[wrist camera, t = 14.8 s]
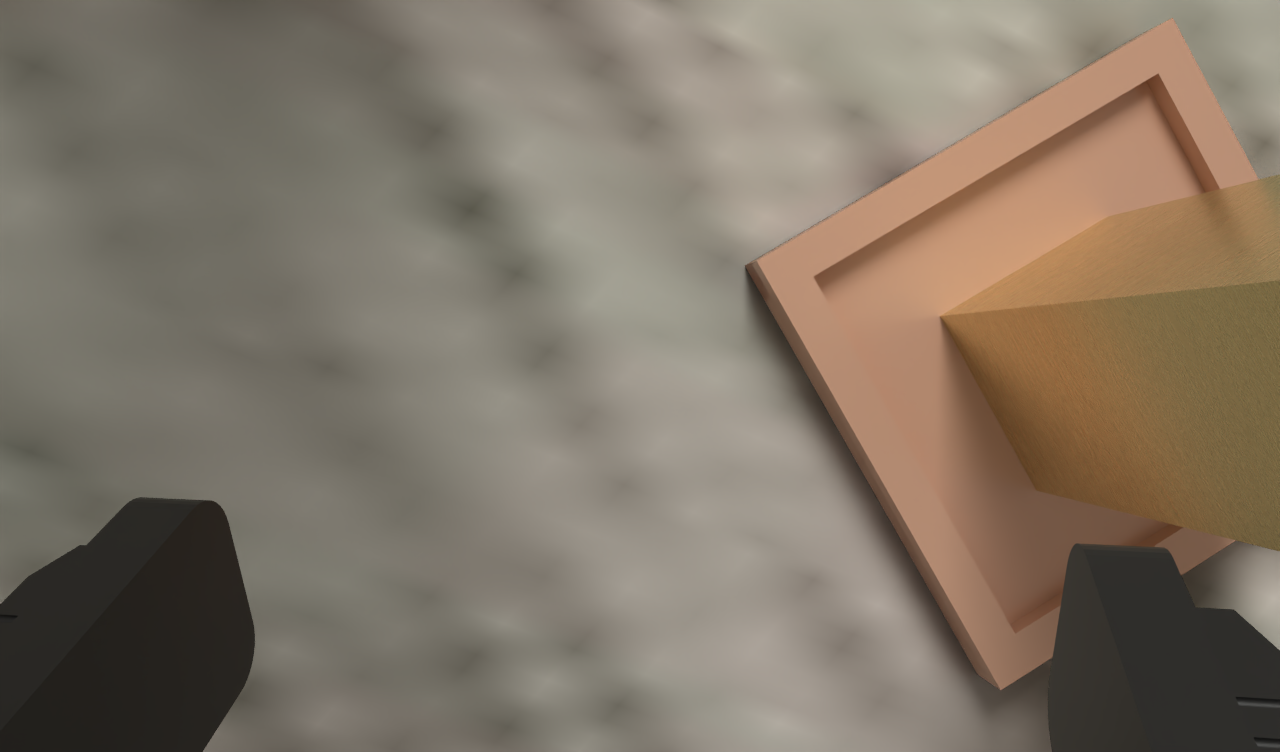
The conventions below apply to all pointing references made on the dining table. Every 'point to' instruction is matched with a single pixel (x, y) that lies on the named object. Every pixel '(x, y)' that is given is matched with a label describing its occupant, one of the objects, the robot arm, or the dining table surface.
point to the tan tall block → (1146, 362)
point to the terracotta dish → (959, 269)
